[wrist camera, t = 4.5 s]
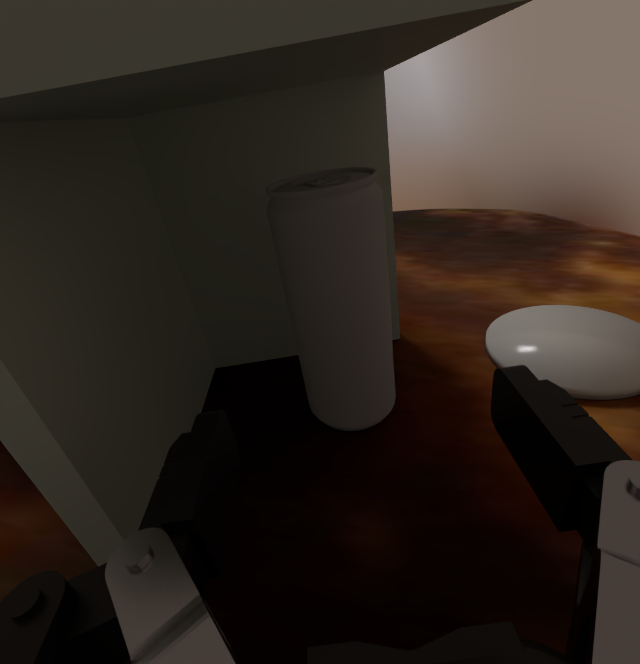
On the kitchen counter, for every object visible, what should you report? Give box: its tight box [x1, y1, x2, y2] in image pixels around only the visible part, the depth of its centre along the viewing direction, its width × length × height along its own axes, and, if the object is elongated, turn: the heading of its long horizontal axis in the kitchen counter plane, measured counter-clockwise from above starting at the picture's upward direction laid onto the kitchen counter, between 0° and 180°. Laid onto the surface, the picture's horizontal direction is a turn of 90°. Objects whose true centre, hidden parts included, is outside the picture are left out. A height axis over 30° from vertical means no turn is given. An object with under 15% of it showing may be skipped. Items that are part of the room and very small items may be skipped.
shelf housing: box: [0, 0, 532, 566], centre depth 17 cm, size 16×14×17 cm
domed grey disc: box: [485, 305, 640, 400], centre depth 23 cm, size 9×9×1 cm
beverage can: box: [266, 167, 396, 431], centre depth 19 cm, size 5×5×12 cm
